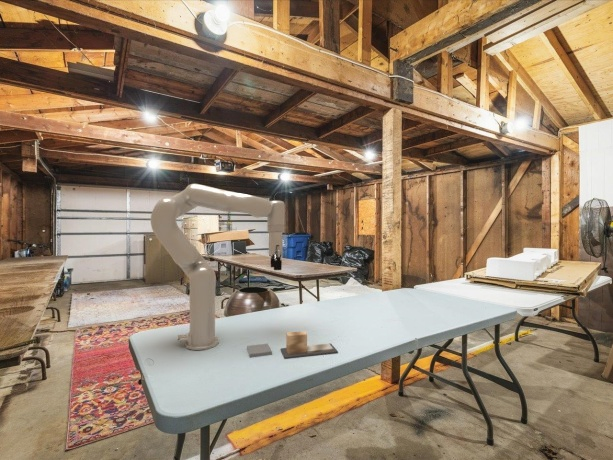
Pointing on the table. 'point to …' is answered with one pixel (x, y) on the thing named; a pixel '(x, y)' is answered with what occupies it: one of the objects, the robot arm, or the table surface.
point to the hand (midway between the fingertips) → (275, 268)
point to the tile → (259, 350)
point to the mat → (306, 353)
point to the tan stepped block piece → (303, 344)
